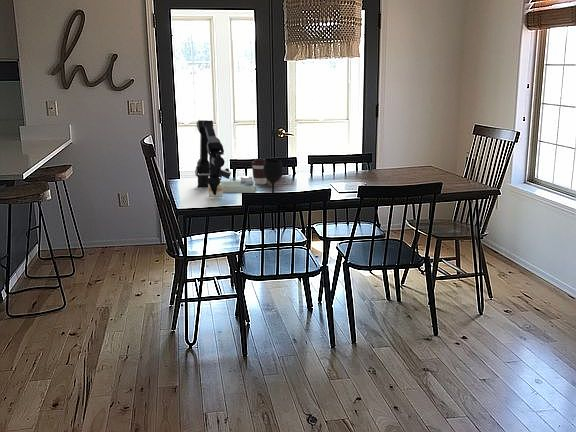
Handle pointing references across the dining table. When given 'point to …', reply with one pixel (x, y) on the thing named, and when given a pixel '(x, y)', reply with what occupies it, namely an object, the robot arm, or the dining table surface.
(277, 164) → the wine glass
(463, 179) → the dining table surface
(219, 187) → the taped carton
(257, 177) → the coffee cup
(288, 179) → the dining table surface
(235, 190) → the tote
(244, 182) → the tin can
